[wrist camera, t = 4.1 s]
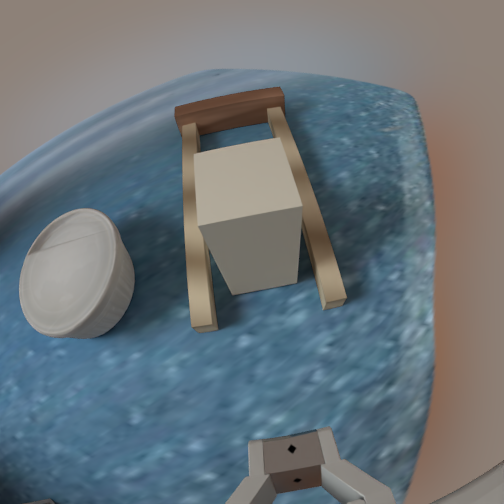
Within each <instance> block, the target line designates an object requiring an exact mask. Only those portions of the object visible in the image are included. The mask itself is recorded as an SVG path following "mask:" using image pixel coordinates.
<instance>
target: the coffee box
mask: <svg viewBox="0 0 504 504" xmlns="http://www.w3.org/2000/svg"><path fill="white" fill-rule="evenodd" d="M24 504H55V503H54V502H53V501H52V500H51V499H45V500H40V501H35V502H30V503H24Z"/></svg>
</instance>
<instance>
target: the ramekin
mask: <svg viewBox="0 0 504 504" xmlns="http://www.w3.org/2000/svg"><path fill="white" fill-rule="evenodd" d="M134 283H135V273H134V267H133V264H132V260H131V258H130V255H129V253H128V252H127V250H126V248H125V246H124V244H123V242H122V240H121V237H120V234H119V231H118V229H117V227H116V226H115V224H114V223H113V222H112V220H111V219H110V218H109V217H108V216H107V215H105V214H104V213H103V212H101V211H99V210H96V209H90V208H82V209H76V210H73V211H70V212H67V213H65V214H63V215H61V216H60V217H58V218H57V219H55V220H54V221H53V222H51V223H50V224H49V225H48V226H47V227H46V228H45V229H44V230H43V231H42V232H41V233H40V234H39V236H38V237H37V238H36V240H35V241H34V243H33V244H32V246H31V248H30V249H29V251H28V254H27V256H26V258H25V261H24V264H23V267H22V271H21V275H20V282H19V296H20V303H21V307H22V310H23V313H24V315H25V317H26V319H27V321H28V322H29V323H30V325H31V326H32V327H33V328H34V329H35V330H37V331H38V332H39V333H41V334H44V335H47V336H50V337H54V338H65V337H69V338H78V339H87V338H94V337H98V336H99V335H102V334H104V333H105V332H107V331H109V330H110V329H111V328H112V327H114V326H115V324H116V323H117V322H118V321H119V320H120V319H121V317H122V316H123V315H124V313H125V311H126V310H127V308H128V306H129V304H130V301H131V298H132V295H133V291H134Z"/></svg>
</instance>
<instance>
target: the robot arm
mask: <svg viewBox="0 0 504 504" xmlns="http://www.w3.org/2000/svg"><path fill="white" fill-rule="evenodd" d="M248 453H249V476H248V477H245V478H244V479H243V481H242V482H241V483H240V485H239V486H238V487H237V489H236V490H235V491H234V493H233V494H232V495H231V497H230V498H229V499H228V500H227V502H226V503H225V504H272V503H273V501H274V499H275V498H276V496H277V494H279V493H285V492H291V491H296V490H302V489H307V488H313V487H318V486H322V487H323V488H324V489H325V490H326V491H327V492H329V493H330V494H331V495H332V496H333V497H334V498H336V499H337V500H338V501H339V502H340V503H341V504H396V502H395V500H394V497H393V494H392V492H391V489H390V488H389V487H387V486H385V485H384V484H382V483H381V482H379V481H377V480H376V479H374V478H373V477H371V476H370V475H368V474H366V473H365V472H363V471H362V470H360V469H359V468H357V467H356V466H354V465H353V464H351V463H350V462H348V461H347V460H346V459H343V460H341V458H340V455H339V452H338V449H337V445H336V442H335V439H334V436H333V432H332V429H331V427H330V426H328V427H325V428H321V429H317V430H316V429H314V430H310V431H306V432H301V433H296V434H291V435H288V436H282V437H275V438H268V439H259V440H252V441H249V443H248ZM430 504H504V460H503V461H502V462H501V463H499V464H498V465H496V466H495V467H493V468H492V469H490V470H489V471H487V472H486V473H484V474H483V475H481V476H480V477H478V478H476V479H475V480H473V481H471V482H470V483H468V484H466V485H465V486H463V487H461V488H459V489H458V490H456V491H454V492H452V493H450V494H448V495H447V496H444V497H442V498H440V499H438V500H436V501H434V502H432V503H430Z"/></svg>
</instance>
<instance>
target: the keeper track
mask: <svg viewBox="0 0 504 504" xmlns="http://www.w3.org/2000/svg"><path fill="white" fill-rule="evenodd" d="M174 117H175V120H176V122H177V125H178V128H179V131H180V133H181V136H182V171H183V209H184V233H185V251H186V267H187V281H188V294H189V305H190V316H191V326H192V328H193V329H194V330H196V331H197V332H198V333H203V332H210V331H216V330H218V324H217V316H216V308H215V300H214V292H213V283H212V274H211V265H210V256H209V248H208V246H207V244H206V242H205V240H204V238H203V236H202V234H201V232H200V230H199V227H198V222H197V208H196V192H195V174H194V154H196V153H201V151H200V135H204V134H208V133H213V132H218V131H222V130H227V129H232V128H237V127H243V126H248V125H254V124H260V123H266V122H268V123H269V126H270V129H271V132H272V135H273V138H279V137H280V139H281V142H282V145H283V148H284V151H285V154H286V157H287V160H288V163H289V165H290V168H291V171H292V174H293V177H294V181H295V184H296V187H297V190H298V193H299V196H300V199H301V202H302V205H303V208H302V224H301V228H302V232H303V235H304V239H305V243H306V246H307V250H308V253H309V257H310V261H311V265H312V268H313V272H314V276H315V280H316V284H317V288H318V291H319V295H320V299H321V303H322V307H323V310H326V309H331V308H335V307H340V306H342V305H343V303H344V302H345V300H346V298H347V296H346V293H345V289H344V286H343V282H342V279H341V275H340V272H339V269H338V265H337V262H336V259H335V255H334V252H333V249H332V246H331V243H330V239H329V236H328V233H327V230H326V227H325V224H324V221H323V218H322V215H321V212H320V209H319V206H318V203H317V201H316V198H315V195H314V192H313V189H312V186H311V184H310V181H309V178H308V175H307V173H306V170H305V167H304V165H303V162H302V159H301V157H300V154H299V152H298V149H297V146H296V144H295V141H294V139H293V136H292V134H291V131H290V129H289V126H288V124H287V121H286V119H285V102H284V94H283V92H282V90H281V88H280V87H273V88H266V89H259V90H253V91H247V92H241V93H236V94H230V95H225V96H220V97H215V98H211V99H206V100H202V101H197V102H193V103H189V104H185V105H181V106H177V107H175V116H174Z"/></svg>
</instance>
